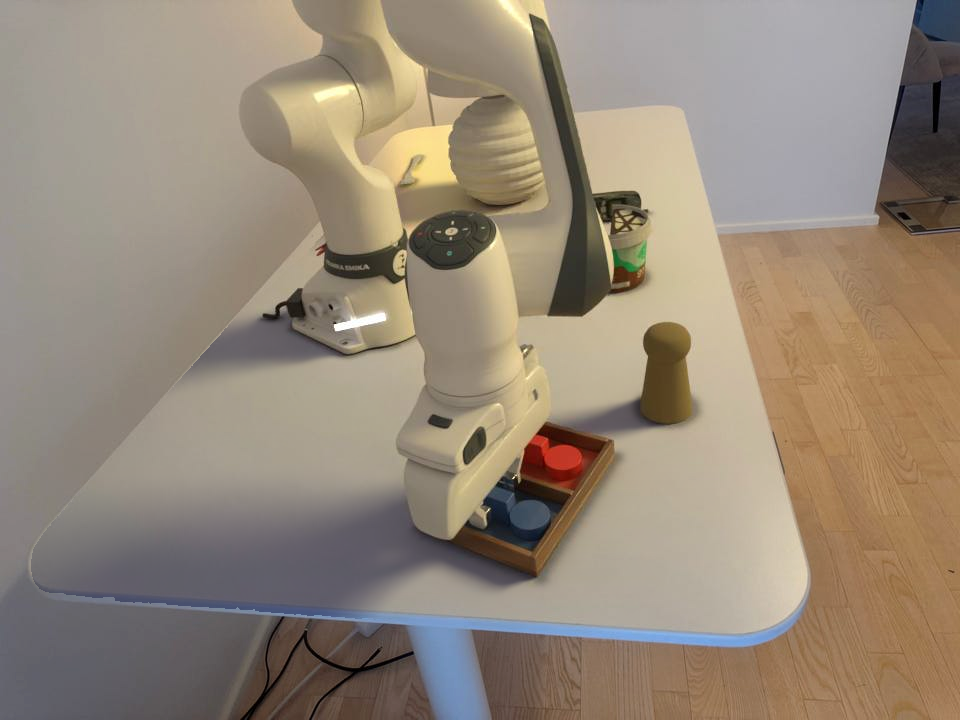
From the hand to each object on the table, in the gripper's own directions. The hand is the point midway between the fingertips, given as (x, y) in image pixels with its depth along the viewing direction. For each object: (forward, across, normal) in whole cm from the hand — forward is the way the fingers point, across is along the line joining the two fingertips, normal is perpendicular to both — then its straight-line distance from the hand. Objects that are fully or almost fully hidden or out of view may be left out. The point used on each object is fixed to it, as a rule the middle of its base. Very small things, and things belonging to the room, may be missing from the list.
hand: (496, 503), depth 72 cm
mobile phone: (+3, -73, -20) cm, 76 cm away
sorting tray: (+2, -4, 0) cm, 5 cm away
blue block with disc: (+2, 0, 0) cm, 2 cm away
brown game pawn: (+3, -24, +9) cm, 26 cm away
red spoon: (+2, -9, 0) cm, 9 cm away
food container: (+3, -53, -7) cm, 53 cm away
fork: (+3, -86, -75) cm, 114 cm away
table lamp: (+3, -79, -45) cm, 91 cm away
